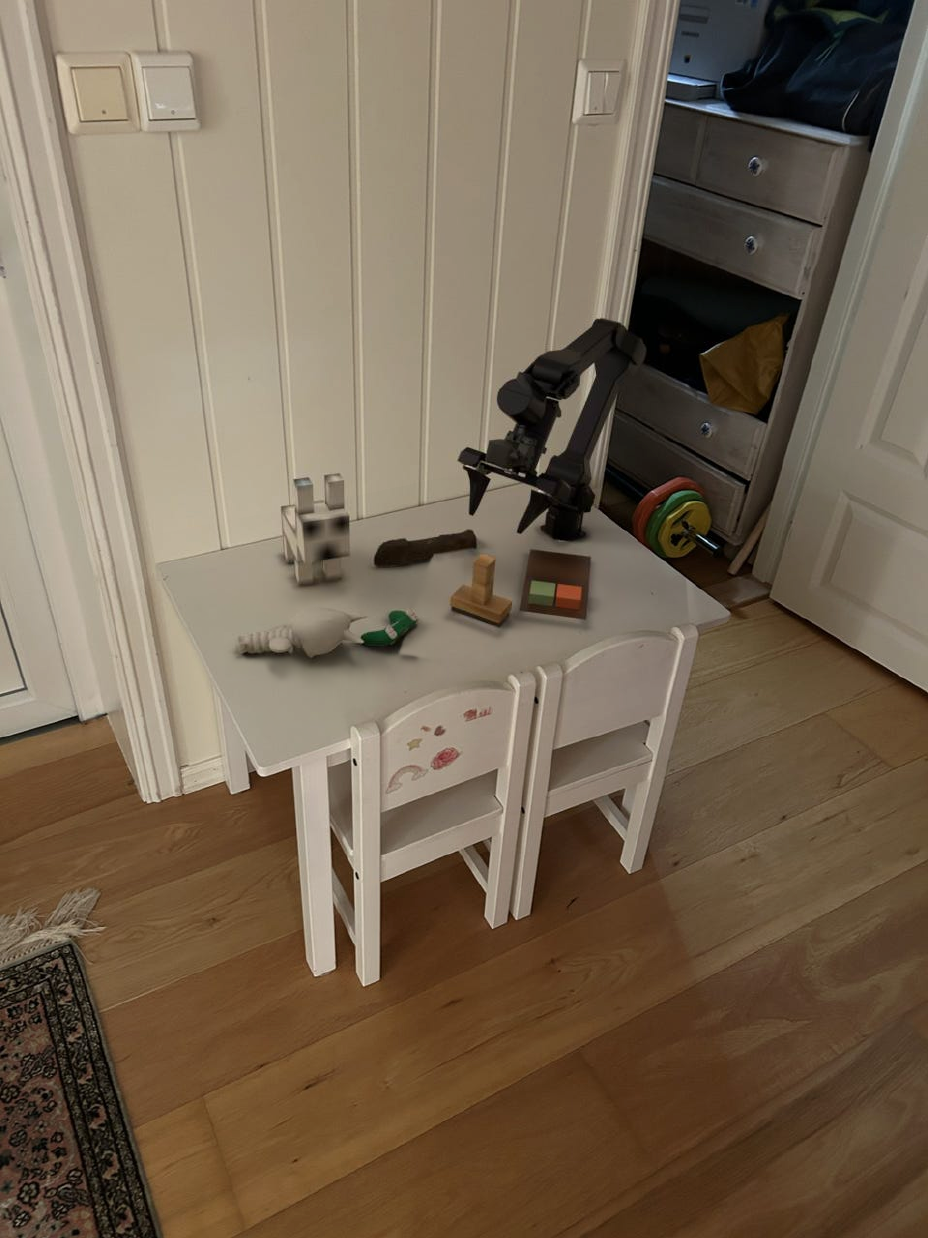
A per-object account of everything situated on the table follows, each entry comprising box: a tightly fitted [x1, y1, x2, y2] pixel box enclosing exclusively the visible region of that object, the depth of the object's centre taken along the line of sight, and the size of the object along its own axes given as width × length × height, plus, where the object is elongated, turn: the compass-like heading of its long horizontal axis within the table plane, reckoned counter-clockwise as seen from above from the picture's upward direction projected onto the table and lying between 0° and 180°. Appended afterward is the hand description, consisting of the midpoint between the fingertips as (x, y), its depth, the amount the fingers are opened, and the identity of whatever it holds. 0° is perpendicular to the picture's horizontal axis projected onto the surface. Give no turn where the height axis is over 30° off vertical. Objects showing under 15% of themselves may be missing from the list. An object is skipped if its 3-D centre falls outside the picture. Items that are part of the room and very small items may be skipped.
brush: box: [449, 553, 513, 628], centre depth 148 cm, size 4×9×12 cm, turn 61°
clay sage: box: [529, 581, 555, 606], centre depth 155 cm, size 4×4×2 cm
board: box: [518, 548, 592, 621], centre depth 160 cm, size 20×11×2 cm, turn 171°
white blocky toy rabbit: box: [280, 472, 351, 587], centre depth 155 cm, size 8×18×20 cm, turn 23°
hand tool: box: [373, 529, 478, 567], centre depth 165 cm, size 19×4×5 cm, turn 111°
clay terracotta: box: [555, 584, 582, 610], centre depth 154 cm, size 4×4×2 cm
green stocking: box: [360, 608, 419, 647], centre depth 145 cm, size 9×4×6 cm
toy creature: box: [236, 607, 370, 659], centre depth 140 cm, size 13×7×20 cm
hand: (494, 524), depth 151 cm, fingers open, 9 cm apart
